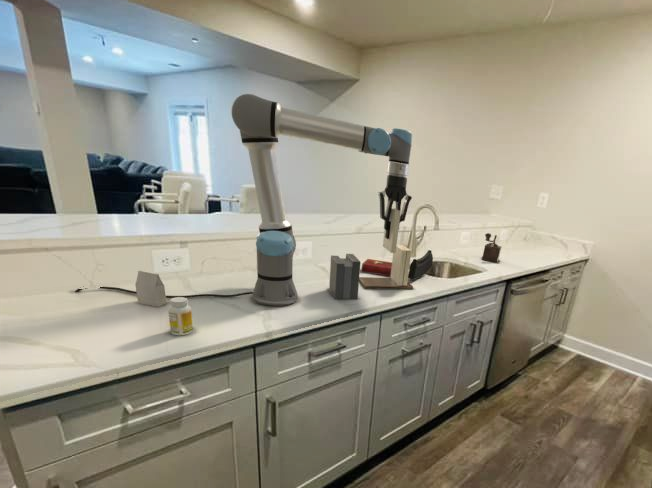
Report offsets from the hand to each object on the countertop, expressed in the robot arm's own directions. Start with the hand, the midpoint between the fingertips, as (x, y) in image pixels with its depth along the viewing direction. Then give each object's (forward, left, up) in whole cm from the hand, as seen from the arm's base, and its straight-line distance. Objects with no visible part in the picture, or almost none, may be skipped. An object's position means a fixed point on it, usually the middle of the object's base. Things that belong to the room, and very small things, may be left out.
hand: (390, 238), depth 152 cm
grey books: (-18, -1, -23) cm, 29 cm away
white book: (0, 0, -4) cm, 4 cm away
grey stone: (-81, -10, -23) cm, 85 cm away
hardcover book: (+10, +32, -23) cm, 41 cm away
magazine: (+28, +28, -23) cm, 46 cm away
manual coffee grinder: (+94, +66, -23) cm, 118 cm away
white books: (+11, +12, -22) cm, 27 cm away
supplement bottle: (-70, -33, -23) cm, 80 cm away
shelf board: (+4, +12, -23) cm, 27 cm away
